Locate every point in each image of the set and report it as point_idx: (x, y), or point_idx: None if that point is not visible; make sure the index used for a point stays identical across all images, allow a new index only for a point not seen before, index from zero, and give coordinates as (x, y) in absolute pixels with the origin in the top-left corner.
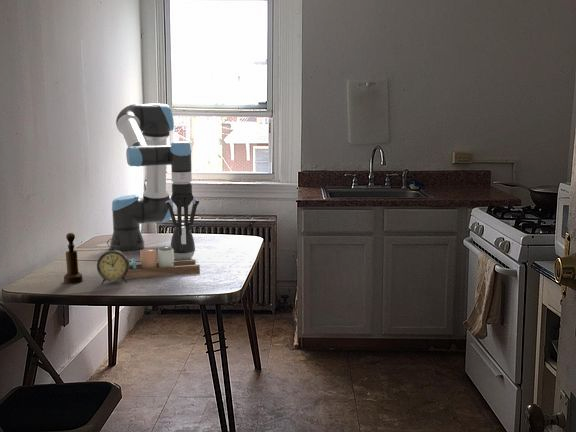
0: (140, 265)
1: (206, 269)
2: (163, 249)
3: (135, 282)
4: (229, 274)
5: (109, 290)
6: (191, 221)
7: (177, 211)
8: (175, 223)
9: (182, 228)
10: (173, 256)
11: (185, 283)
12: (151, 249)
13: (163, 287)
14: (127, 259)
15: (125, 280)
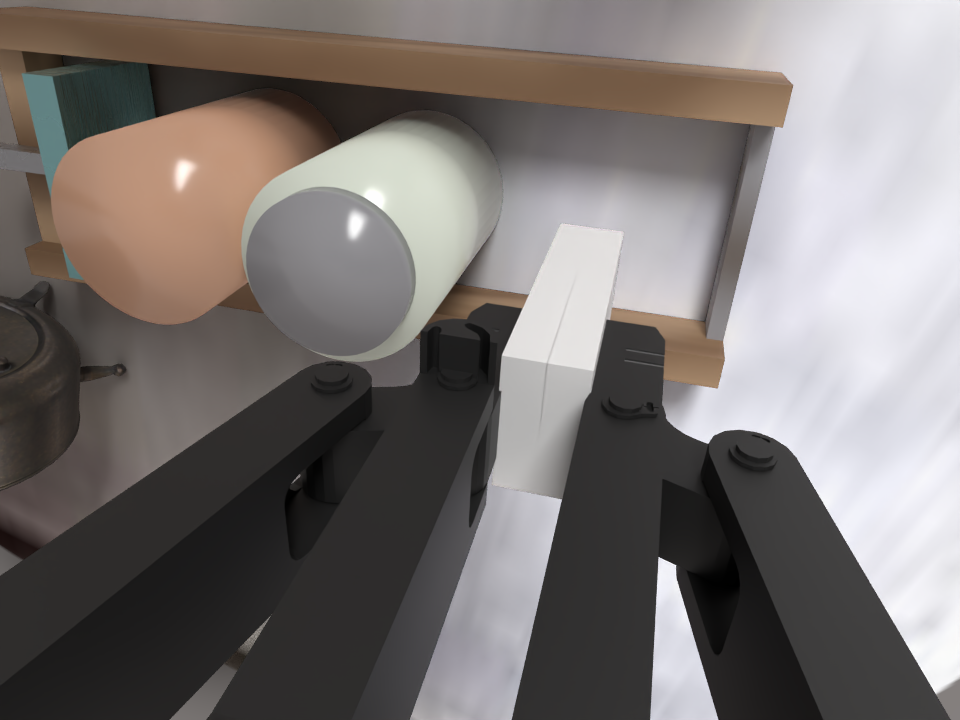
0: (164, 63)
1: (841, 253)
2: (301, 336)
3: (182, 380)
4: (930, 526)
5: (54, 473)
6: (717, 619)
7: (255, 686)
8: (331, 516)
9: (509, 476)
10: (453, 283)
11: (499, 567)
12: (170, 185)
13: None
14: (2, 452)
15: (107, 375)
